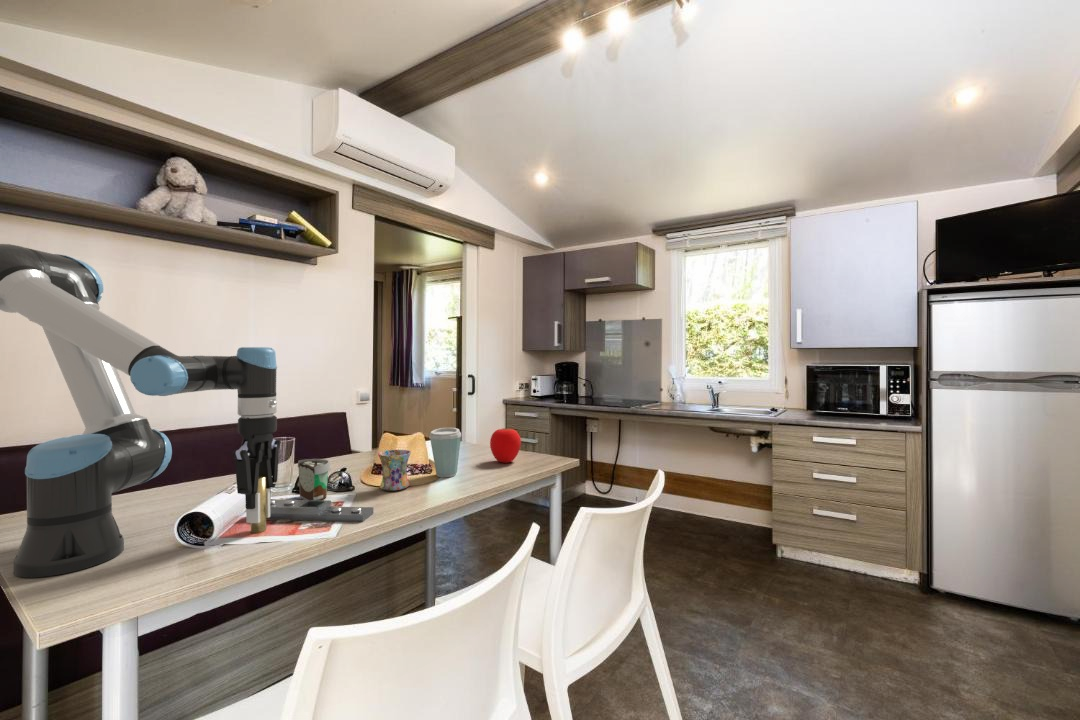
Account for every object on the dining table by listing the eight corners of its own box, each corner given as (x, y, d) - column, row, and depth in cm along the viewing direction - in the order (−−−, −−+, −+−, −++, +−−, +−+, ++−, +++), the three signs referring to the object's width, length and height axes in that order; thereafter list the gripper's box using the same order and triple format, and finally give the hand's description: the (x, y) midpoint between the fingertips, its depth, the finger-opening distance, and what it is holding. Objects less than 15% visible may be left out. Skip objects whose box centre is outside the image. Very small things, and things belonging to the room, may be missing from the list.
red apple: (486, 464, 170) (486, 429, 170) (494, 458, 181) (494, 424, 181) (517, 466, 168) (517, 430, 168) (523, 459, 179) (523, 425, 179)
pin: (260, 533, 105) (260, 479, 105) (247, 533, 105) (247, 479, 105) (269, 528, 108) (268, 476, 108) (256, 528, 108) (256, 475, 108)
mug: (416, 488, 141) (416, 452, 140) (387, 494, 134) (387, 457, 134) (397, 480, 149) (396, 447, 149) (368, 486, 142) (368, 451, 142)
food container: (338, 499, 130) (338, 463, 130) (315, 504, 125) (315, 467, 125) (320, 490, 138) (319, 456, 138) (297, 495, 134) (297, 460, 134)
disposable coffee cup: (458, 479, 150) (458, 432, 150) (425, 479, 150) (424, 432, 150) (464, 471, 161) (464, 427, 161) (433, 471, 161) (432, 427, 161)
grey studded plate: (373, 513, 118) (373, 499, 118) (362, 521, 112) (362, 507, 112) (266, 511, 120) (265, 497, 120) (250, 519, 114) (249, 504, 114)
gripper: (249, 420, 98) (250, 533, 99) (294, 411, 114) (295, 508, 114) (215, 420, 99) (216, 532, 99) (264, 411, 115) (265, 508, 115)
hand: (258, 519), depth 107 cm, fingers closed on pin, 3 cm apart
